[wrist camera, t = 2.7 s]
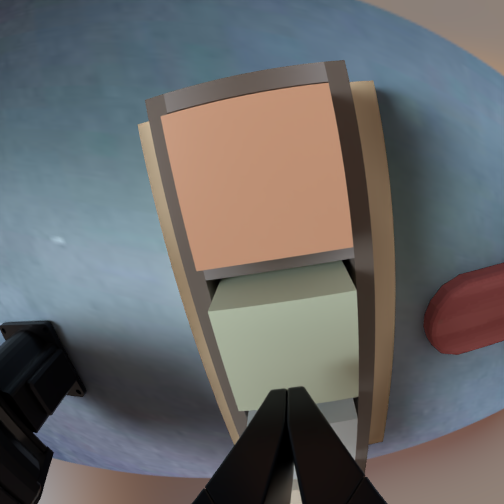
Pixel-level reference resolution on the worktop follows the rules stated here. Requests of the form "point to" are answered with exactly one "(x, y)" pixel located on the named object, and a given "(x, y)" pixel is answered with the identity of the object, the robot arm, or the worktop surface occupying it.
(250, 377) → the sage key
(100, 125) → the worktop surface
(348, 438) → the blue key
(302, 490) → the robot arm
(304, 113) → the terracotta key
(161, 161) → the brown long open box
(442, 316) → the popsicle
